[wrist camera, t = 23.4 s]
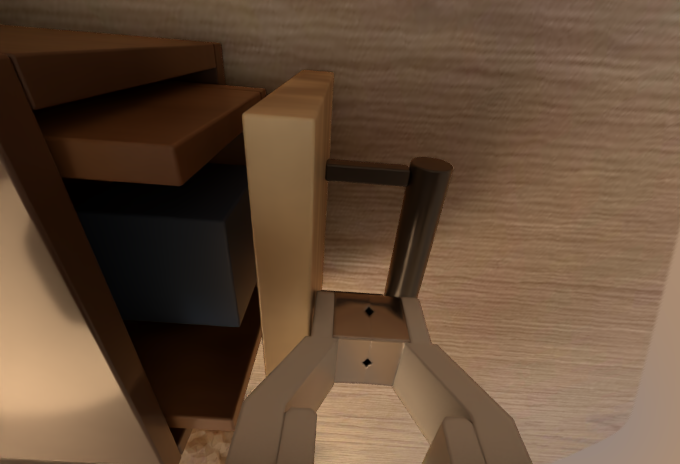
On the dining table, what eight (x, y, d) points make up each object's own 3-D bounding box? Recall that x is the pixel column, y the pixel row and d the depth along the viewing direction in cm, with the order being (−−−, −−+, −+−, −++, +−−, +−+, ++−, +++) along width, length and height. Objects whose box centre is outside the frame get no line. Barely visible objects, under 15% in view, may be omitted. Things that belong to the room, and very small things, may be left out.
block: (224, 221, 9) (64, 209, 9) (240, 328, 11) (114, 320, 11) (261, 166, 12) (150, 157, 12) (267, 254, 15) (173, 248, 15)
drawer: (446, 81, 12) (574, 139, 5) (395, 301, 18) (423, 459, 11) (-37, 41, 11) (-575, 47, 5) (80, 280, 17) (-85, 429, 11)
